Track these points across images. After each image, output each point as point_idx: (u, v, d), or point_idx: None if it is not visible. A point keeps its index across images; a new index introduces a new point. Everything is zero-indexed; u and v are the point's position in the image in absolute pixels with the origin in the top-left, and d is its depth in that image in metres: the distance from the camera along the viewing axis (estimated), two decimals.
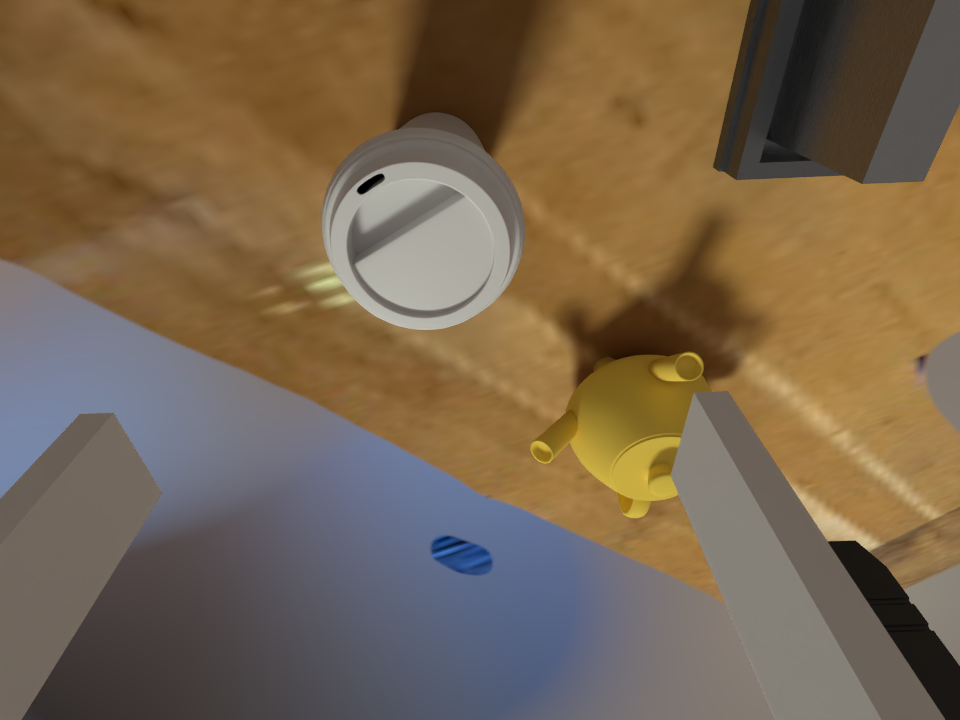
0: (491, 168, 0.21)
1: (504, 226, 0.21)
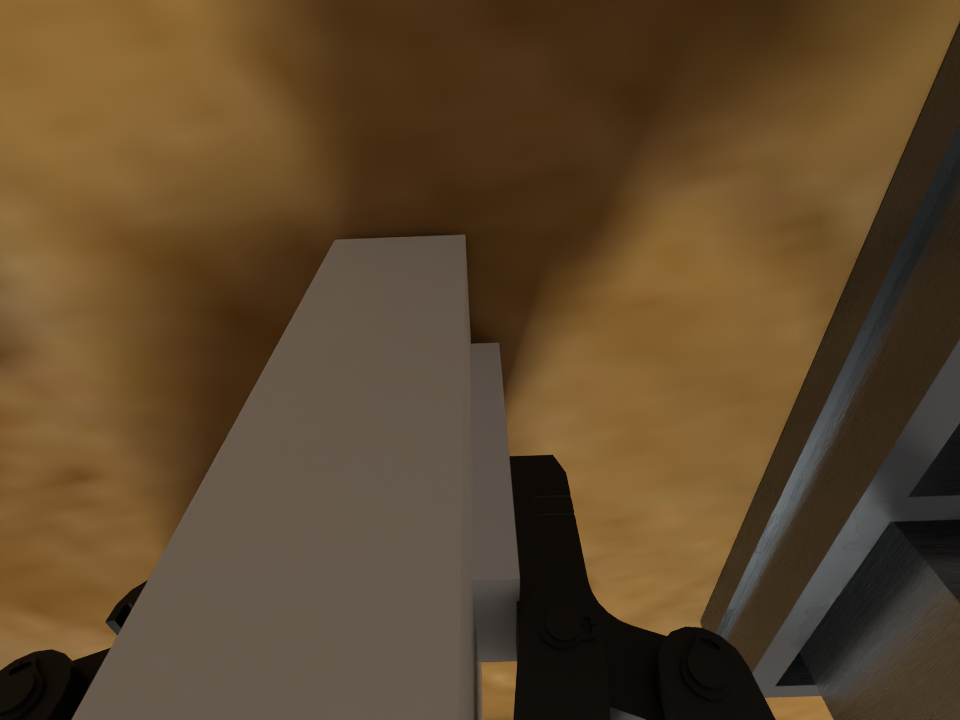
0: None
1: None
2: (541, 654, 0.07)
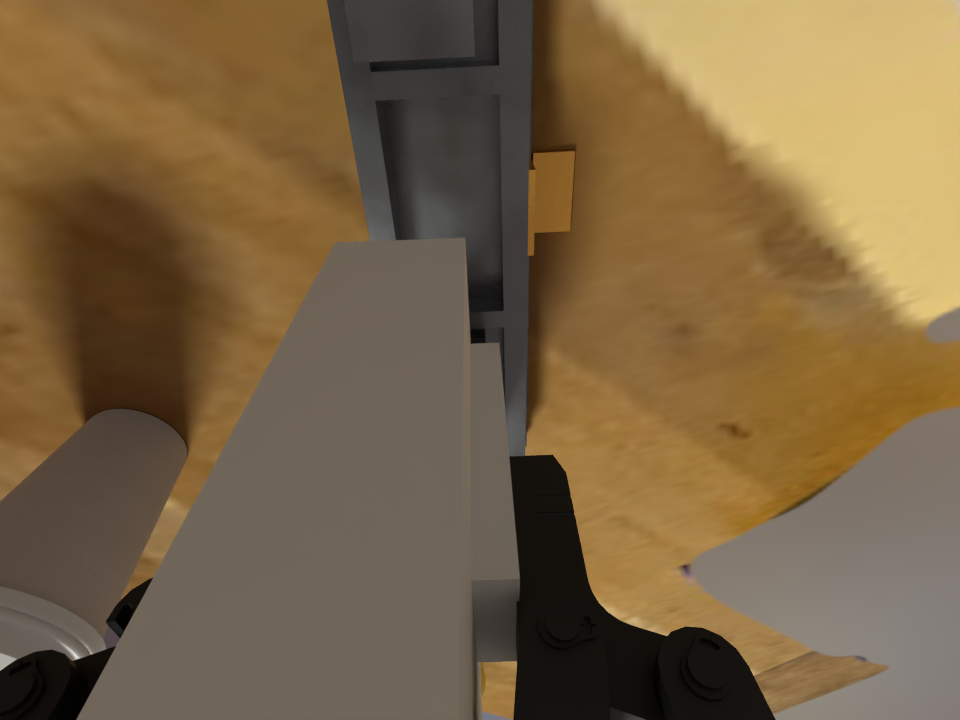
0: (15, 611, 0.22)
1: None
2: (541, 654, 0.07)
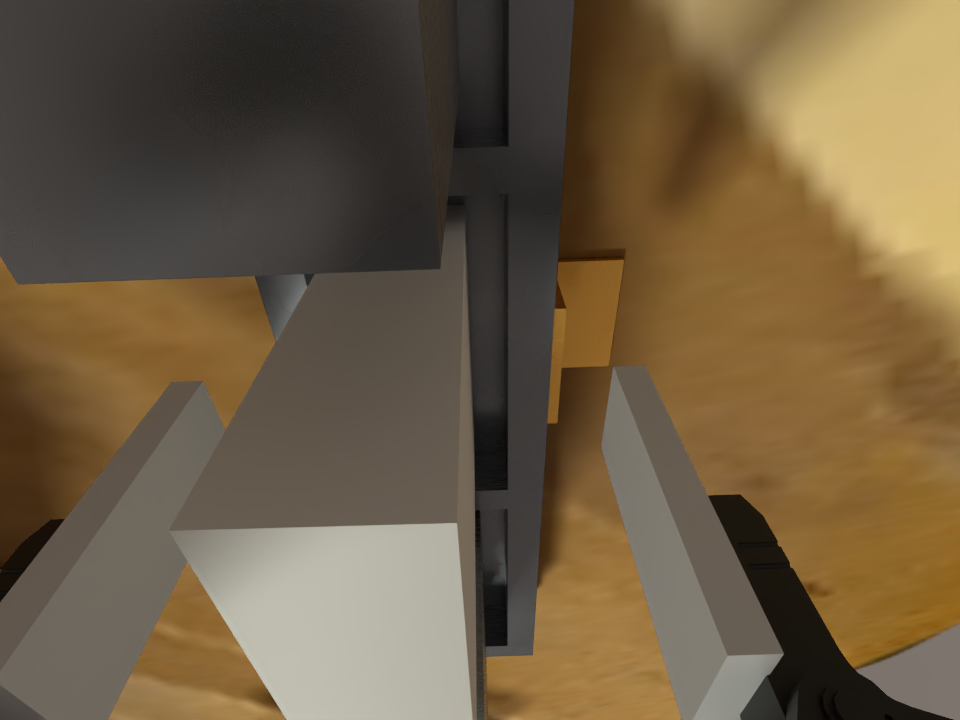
0: None
1: None
2: None
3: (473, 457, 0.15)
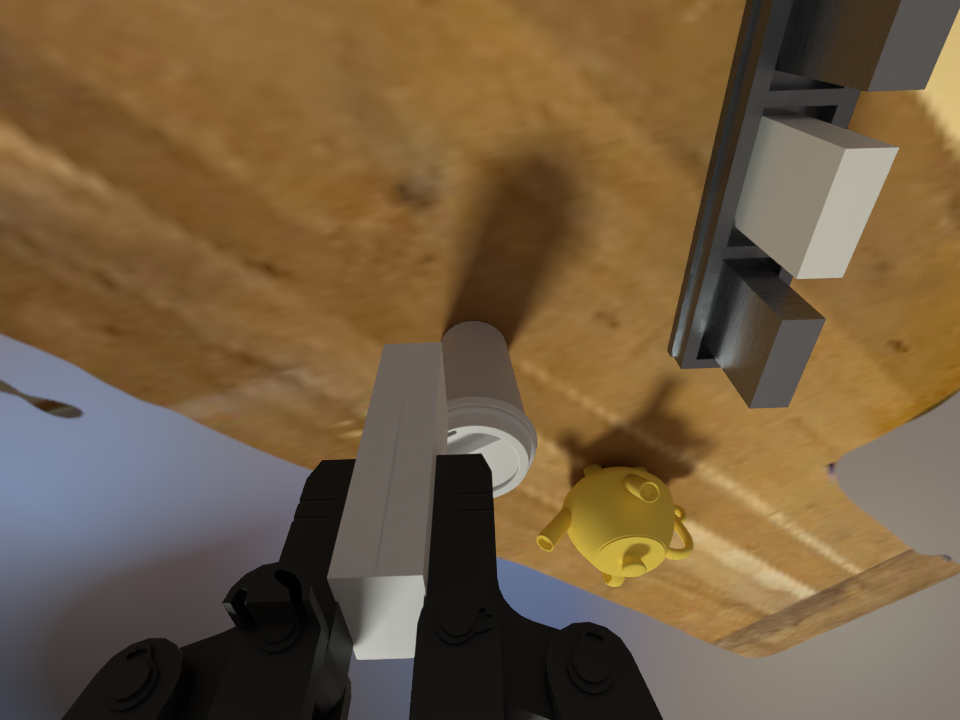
0: (518, 418, 0.36)
1: (525, 452, 0.36)
2: (437, 652, 0.07)
3: None
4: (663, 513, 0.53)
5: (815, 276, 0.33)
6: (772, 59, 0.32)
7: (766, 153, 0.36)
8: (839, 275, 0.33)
